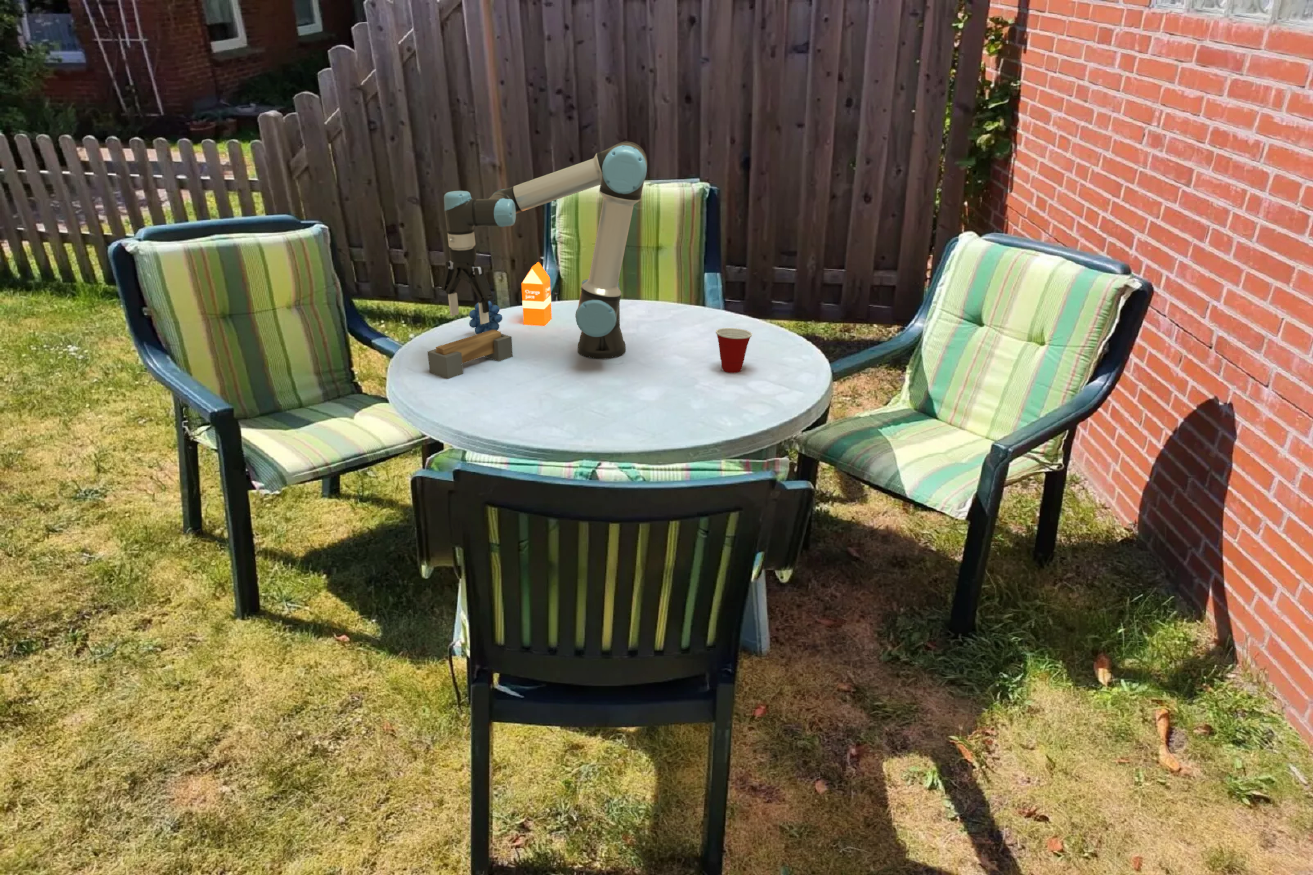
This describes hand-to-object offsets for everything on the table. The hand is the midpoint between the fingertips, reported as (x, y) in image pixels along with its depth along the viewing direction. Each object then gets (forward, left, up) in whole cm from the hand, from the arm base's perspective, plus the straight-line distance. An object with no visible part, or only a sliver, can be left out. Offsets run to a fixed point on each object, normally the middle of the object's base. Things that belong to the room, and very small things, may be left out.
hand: (469, 318), depth 265 cm
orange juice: (+16, -43, -15) cm, 48 cm away
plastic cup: (-63, -47, -14) cm, 80 cm away
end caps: (0, 0, -14) cm, 14 cm away
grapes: (+18, -22, -14) cm, 32 cm away
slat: (0, +1, -12) cm, 12 cm away
